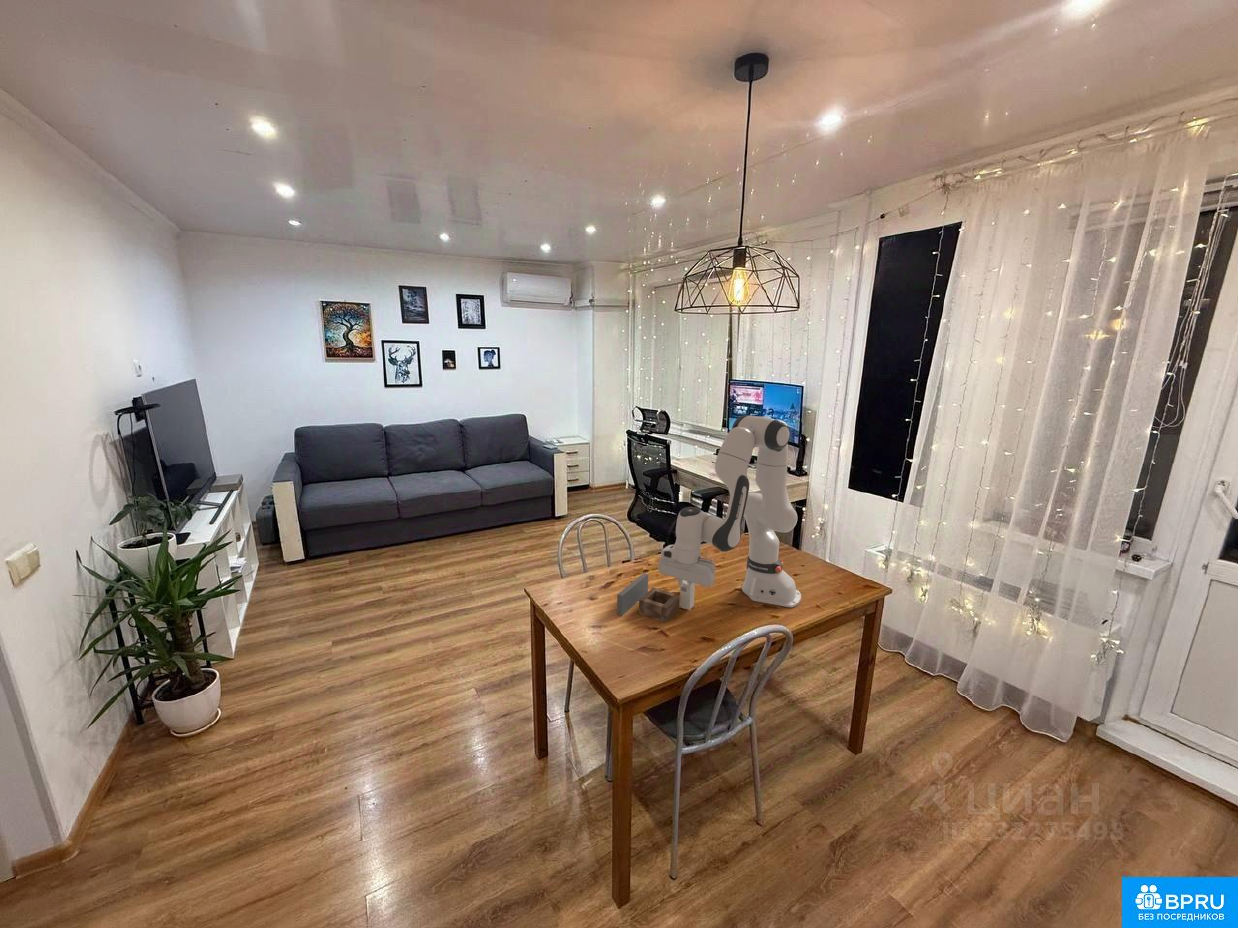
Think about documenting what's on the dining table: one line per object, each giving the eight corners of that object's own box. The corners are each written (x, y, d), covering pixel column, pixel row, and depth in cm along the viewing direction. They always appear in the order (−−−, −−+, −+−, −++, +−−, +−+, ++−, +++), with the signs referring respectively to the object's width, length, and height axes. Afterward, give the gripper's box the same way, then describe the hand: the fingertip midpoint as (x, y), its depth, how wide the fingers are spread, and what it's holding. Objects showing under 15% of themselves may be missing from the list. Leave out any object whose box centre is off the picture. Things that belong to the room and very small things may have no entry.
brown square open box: (679, 609, 183) (679, 595, 181) (666, 623, 174) (666, 608, 172) (652, 601, 188) (653, 587, 187) (638, 614, 179) (639, 599, 178)
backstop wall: (647, 592, 194) (648, 574, 192) (621, 615, 178) (622, 595, 176) (643, 591, 195) (643, 572, 193) (617, 614, 179) (617, 594, 177)
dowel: (693, 605, 186) (695, 581, 183) (689, 610, 182) (690, 585, 180) (683, 602, 188) (685, 578, 185) (679, 607, 184) (680, 582, 182)
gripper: (719, 558, 167) (716, 595, 170) (664, 544, 177) (662, 579, 180) (712, 564, 162) (709, 602, 165) (656, 550, 172) (654, 586, 175)
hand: (684, 590), depth 173 cm, fingers closed
